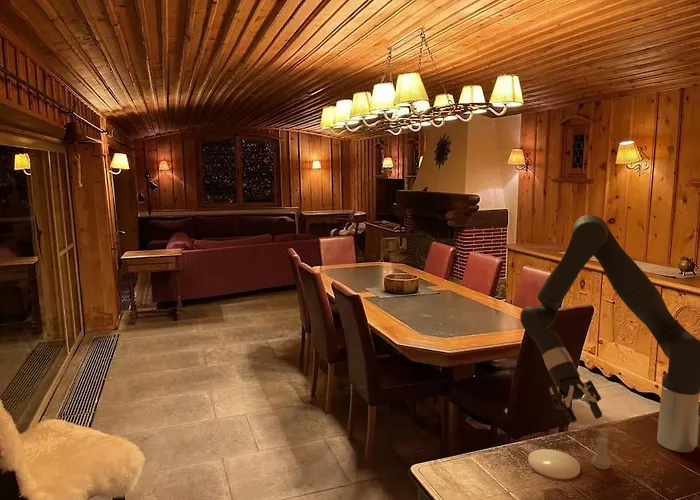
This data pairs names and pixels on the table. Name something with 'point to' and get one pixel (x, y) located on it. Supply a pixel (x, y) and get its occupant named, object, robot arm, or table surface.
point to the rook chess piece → (601, 454)
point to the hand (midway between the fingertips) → (586, 419)
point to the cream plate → (554, 464)
